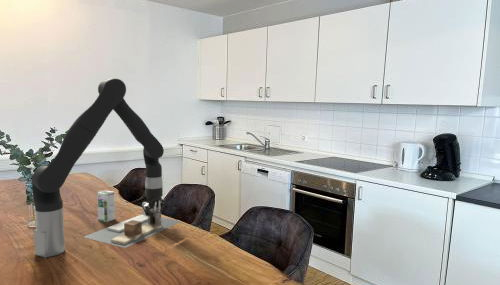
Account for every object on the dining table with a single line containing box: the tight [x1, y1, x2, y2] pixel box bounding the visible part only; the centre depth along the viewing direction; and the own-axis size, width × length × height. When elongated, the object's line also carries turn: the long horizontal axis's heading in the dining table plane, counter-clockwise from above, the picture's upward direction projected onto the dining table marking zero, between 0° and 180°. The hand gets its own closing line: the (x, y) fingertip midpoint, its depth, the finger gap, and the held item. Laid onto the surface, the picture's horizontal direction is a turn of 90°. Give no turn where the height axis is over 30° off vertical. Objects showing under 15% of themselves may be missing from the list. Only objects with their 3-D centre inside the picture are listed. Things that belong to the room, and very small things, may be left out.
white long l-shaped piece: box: [108, 201, 148, 232], centre depth 173 cm, size 24×7×7 cm, turn 154°
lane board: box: [83, 214, 182, 249], centre depth 167 cm, size 36×24×1 cm, turn 154°
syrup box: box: [96, 190, 116, 223], centre depth 178 cm, size 6×6×14 cm
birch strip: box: [111, 211, 163, 245], centre depth 160 cm, size 24×7×7 cm, turn 154°
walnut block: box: [124, 220, 142, 237], centre depth 157 cm, size 5×5×5 cm
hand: (154, 223), depth 169 cm, fingers closed on birch strip, 2 cm apart
